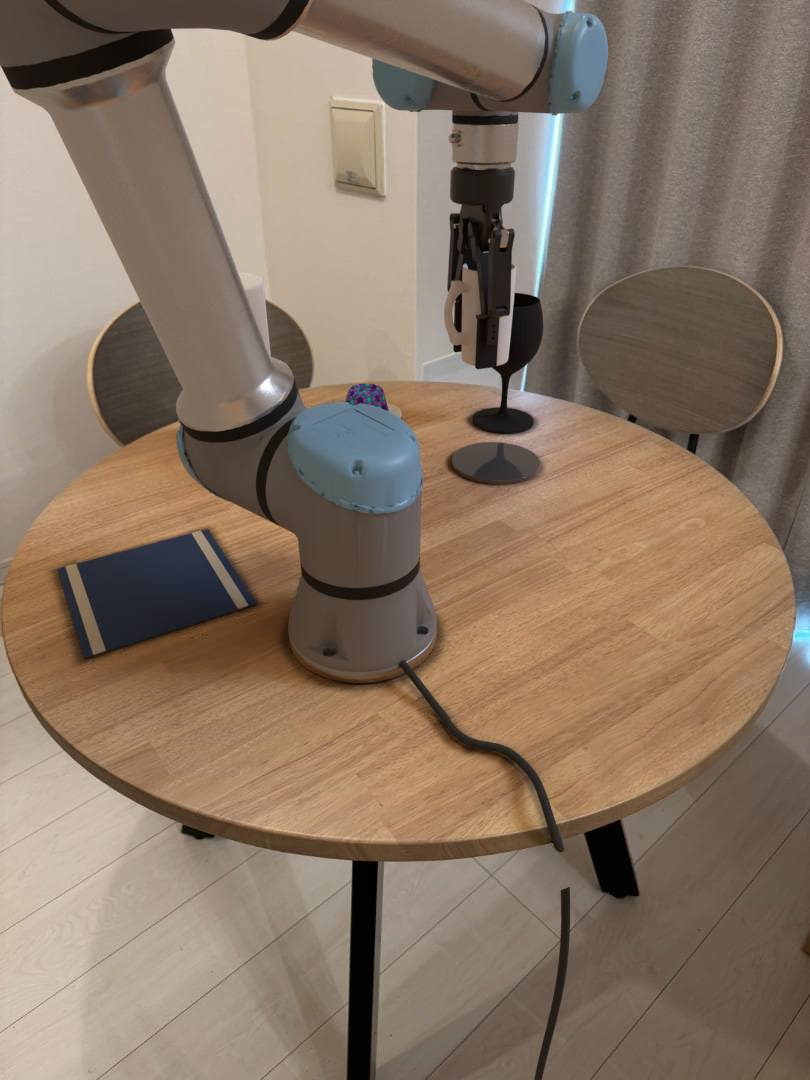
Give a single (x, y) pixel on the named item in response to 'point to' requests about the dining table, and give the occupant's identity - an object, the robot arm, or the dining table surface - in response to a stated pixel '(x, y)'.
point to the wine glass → (515, 366)
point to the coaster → (496, 463)
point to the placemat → (150, 591)
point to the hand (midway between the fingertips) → (474, 358)
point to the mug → (469, 312)
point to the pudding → (371, 397)
